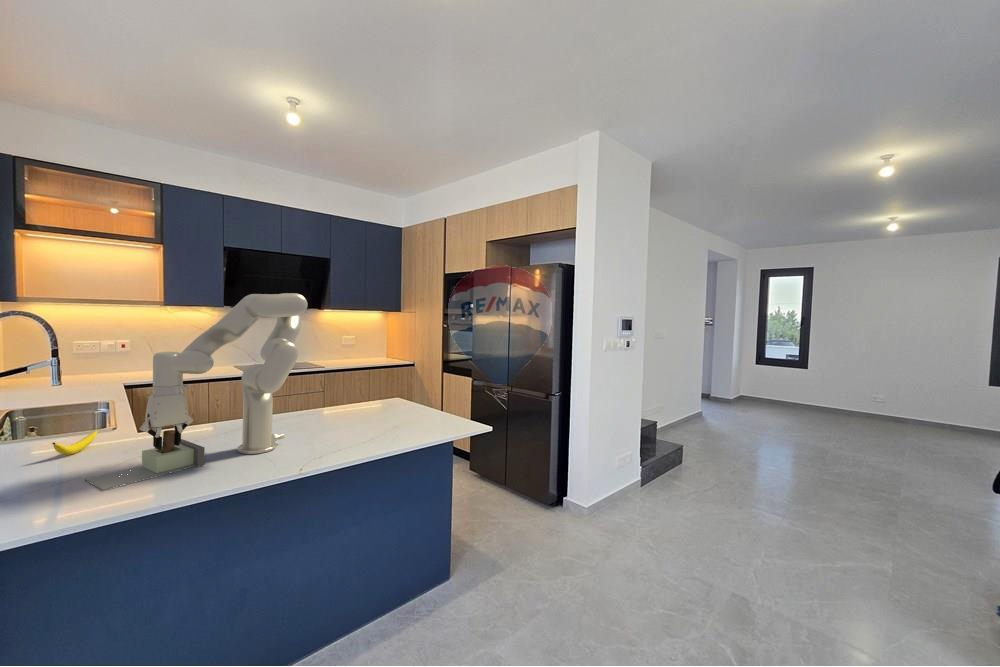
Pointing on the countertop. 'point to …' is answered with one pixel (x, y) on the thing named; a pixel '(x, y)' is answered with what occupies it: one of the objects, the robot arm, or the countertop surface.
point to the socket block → (167, 458)
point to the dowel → (168, 441)
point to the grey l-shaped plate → (142, 471)
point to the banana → (75, 445)
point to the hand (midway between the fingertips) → (167, 446)
